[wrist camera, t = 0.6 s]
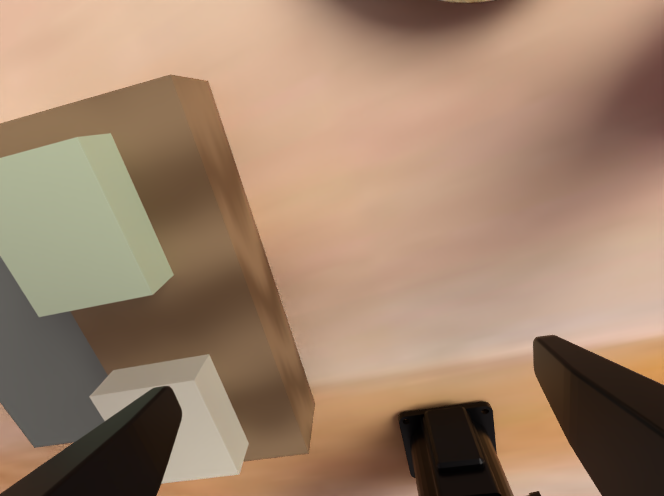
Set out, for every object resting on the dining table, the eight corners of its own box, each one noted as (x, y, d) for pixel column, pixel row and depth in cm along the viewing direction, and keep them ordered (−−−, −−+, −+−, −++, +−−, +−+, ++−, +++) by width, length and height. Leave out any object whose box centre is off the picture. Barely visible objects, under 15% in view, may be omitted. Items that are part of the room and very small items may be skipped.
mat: (184, 421, 27) (181, 427, 27) (39, 442, 29) (34, 447, 28) (31, 130, 19) (24, 131, 19) (-154, 182, 21) (-165, 184, 21)
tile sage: (173, 275, 18) (153, 294, 16) (70, 295, 18) (39, 317, 17) (110, 133, 15) (77, 136, 13) (-6, 164, 16) (-53, 172, 14)
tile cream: (248, 443, 22) (239, 474, 20) (161, 454, 23) (145, 485, 21) (209, 354, 19) (194, 380, 18) (113, 370, 20) (89, 396, 18)
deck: (314, 403, 26) (308, 453, 22) (190, 421, 27) (164, 471, 23) (208, 80, 18) (170, 74, 14) (39, 128, 19) (-35, 133, 16)
